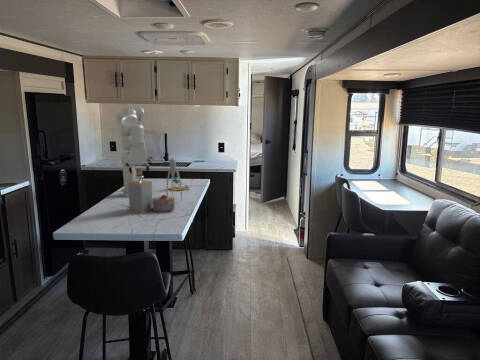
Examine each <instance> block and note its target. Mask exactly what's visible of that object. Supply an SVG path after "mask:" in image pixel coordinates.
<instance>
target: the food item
mask: <svg viewBox="0 0 480 360" xmlns="http://www.w3.org/2000/svg"><path fill="white" fill-rule="evenodd" d="M152 200H153V210H152V211H153V212H154V213H155V212H161V213H164V212H172V211H174V210H175V208H176V205H175V204H176V202H175V201H176V200H175V197H174V196H168V197H167V194H166V195H165V194H163V195H162V194H161V195H160V197H159V196H158V197H157V196H156V197H152Z"/></svg>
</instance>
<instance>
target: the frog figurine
mask: <svg viewBox="0 0 480 360" xmlns="http://www.w3.org/2000/svg"><path fill="white" fill-rule="evenodd" d="M180 181H181V183H183V182H182V180H180ZM170 182H171V183H172V180H170ZM181 187H182V190H183V189H184V191H185V190H186V191H187V190H188V191H189V190H191V189H190V187H189V186H188V185H187V184H185V185H184V186H181ZM168 191H172V187H171V188H168ZM174 191H181V189H180V182H179V178H178V175H177V172H175V176H174V178H173V192H174Z"/></svg>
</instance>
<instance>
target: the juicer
mask: <svg viewBox="0 0 480 360" xmlns="http://www.w3.org/2000/svg"><path fill="white" fill-rule="evenodd" d="M176 173H177V176H178V178H179V182H180V183H179V187H180V189H181V190H180V199H181V201H183V191H182V190H183V189H182V187H183V186H182V182H181V181H182V180H181V177H180V173H179V170H178V169H177V163H176V159H175V158H174V157H170V159H169V170H168V173H167V179H166V196H167V197H169V194H168V193H169V190H168V189H169V179H170V175H171V181H172V182H171V188H172V190H171V191H172V193H171V194H172V195H174V190H173V187H174V184H173V182H174V181H173V180H174V177H175V176H176Z"/></svg>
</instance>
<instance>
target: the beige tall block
mask: <svg viewBox="0 0 480 360" xmlns="http://www.w3.org/2000/svg"><path fill="white" fill-rule="evenodd" d="M128 190H129V197H128V201H129V202H128V203H129V209H126V210H127V212H128V213H135V214H142V215H143V214H146V213H149V212H151V211H153V184H152V181H151V180H144V179H143V180H142V179H141V183H139V179H137V181H133V182H130V183H128Z"/></svg>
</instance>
